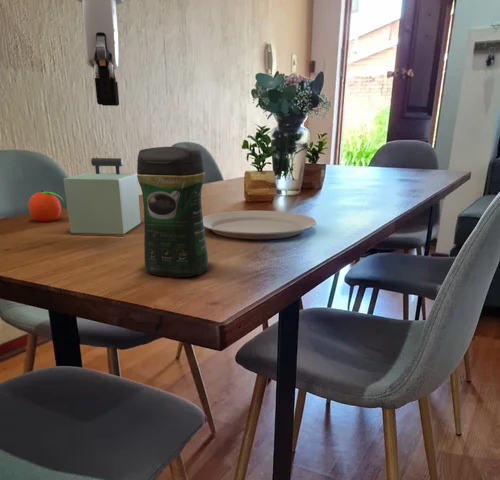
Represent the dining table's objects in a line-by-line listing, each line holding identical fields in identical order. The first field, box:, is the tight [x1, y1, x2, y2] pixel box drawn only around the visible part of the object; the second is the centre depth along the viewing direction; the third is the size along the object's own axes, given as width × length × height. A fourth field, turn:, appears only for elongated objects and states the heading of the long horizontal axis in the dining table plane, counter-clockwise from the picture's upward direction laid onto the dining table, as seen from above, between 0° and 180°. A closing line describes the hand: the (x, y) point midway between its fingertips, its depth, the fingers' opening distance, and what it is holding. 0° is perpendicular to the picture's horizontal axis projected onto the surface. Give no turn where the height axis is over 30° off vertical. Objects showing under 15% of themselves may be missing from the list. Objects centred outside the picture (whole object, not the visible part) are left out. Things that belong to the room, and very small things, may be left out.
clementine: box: [27, 190, 65, 223], centre depth 115 cm, size 8×7×7 cm
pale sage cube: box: [62, 157, 141, 238], centre depth 107 cm, size 14×11×12 cm
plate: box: [202, 209, 317, 240], centre depth 110 cm, size 26×26×2 cm
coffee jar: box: [136, 146, 209, 278], centre depth 77 cm, size 10×8×19 cm
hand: (108, 105), depth 90 cm, fingers open, 9 cm apart
